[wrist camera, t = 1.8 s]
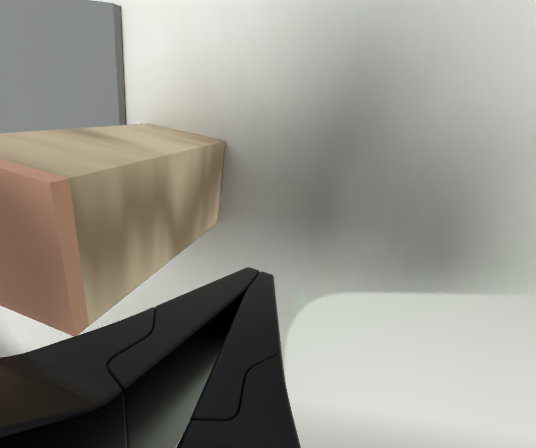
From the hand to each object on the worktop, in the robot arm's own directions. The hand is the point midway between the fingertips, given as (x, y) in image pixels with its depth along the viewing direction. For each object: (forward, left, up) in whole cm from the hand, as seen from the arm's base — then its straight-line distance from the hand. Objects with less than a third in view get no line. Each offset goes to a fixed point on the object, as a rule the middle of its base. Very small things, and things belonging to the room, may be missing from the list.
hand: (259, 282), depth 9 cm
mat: (0, +18, -8) cm, 20 cm away
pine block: (0, +7, -8) cm, 11 cm away
